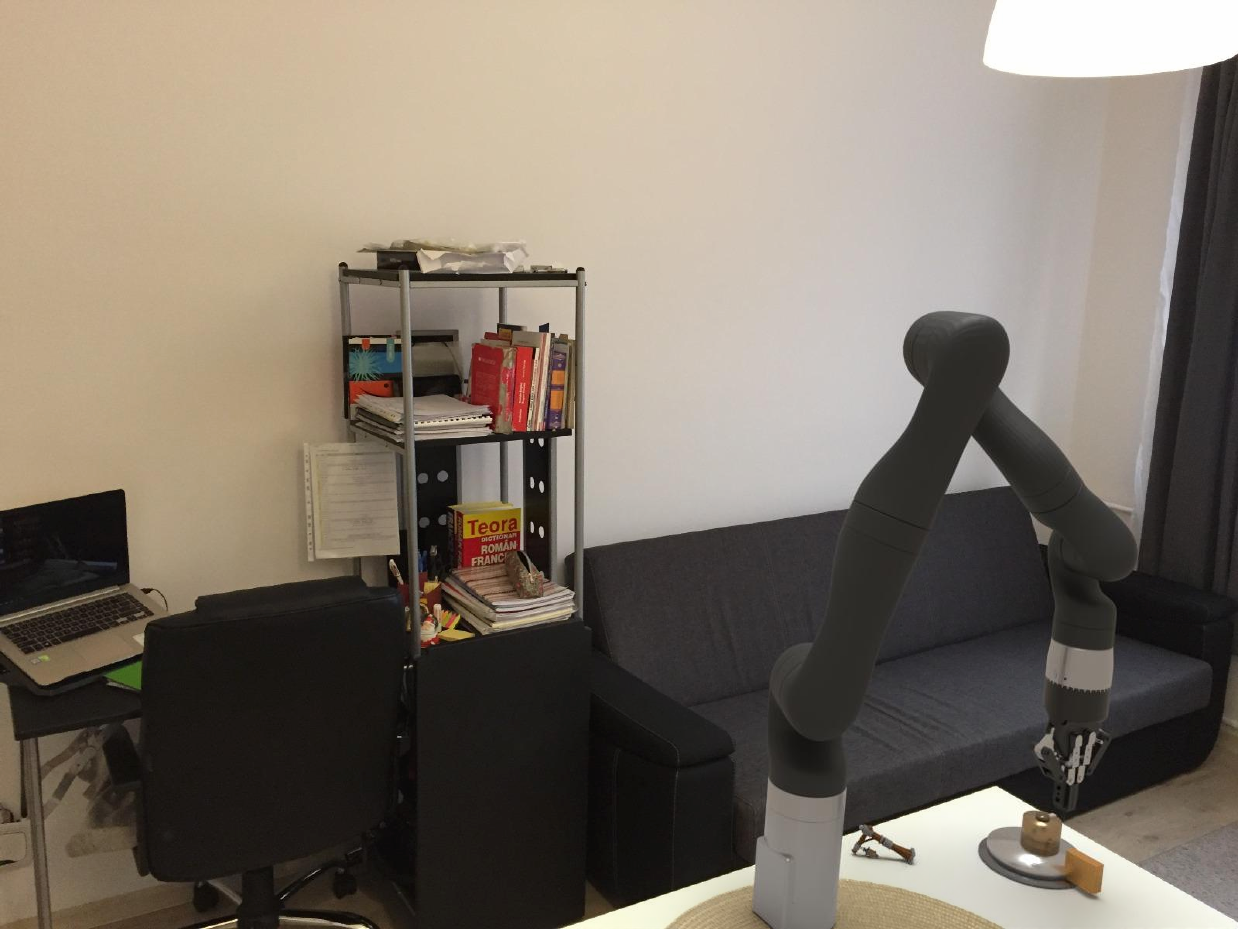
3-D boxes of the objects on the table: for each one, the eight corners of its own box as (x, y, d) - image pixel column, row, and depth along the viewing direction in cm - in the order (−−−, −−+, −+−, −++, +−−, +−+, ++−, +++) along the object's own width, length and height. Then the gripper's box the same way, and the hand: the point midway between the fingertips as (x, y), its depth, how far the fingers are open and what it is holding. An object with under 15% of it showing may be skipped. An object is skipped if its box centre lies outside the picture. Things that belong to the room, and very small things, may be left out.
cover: (1041, 859, 139) (1045, 826, 138) (1012, 841, 143) (1015, 810, 143) (1067, 851, 141) (1071, 820, 141) (1037, 834, 146) (1040, 803, 145)
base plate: (1039, 899, 133) (1039, 896, 133) (956, 847, 145) (956, 845, 145) (1111, 875, 139) (1111, 872, 139) (1025, 828, 151) (1026, 825, 151)
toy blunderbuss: (845, 844, 143) (861, 818, 142) (898, 873, 142) (914, 847, 141) (846, 851, 141) (862, 824, 140) (899, 880, 140) (916, 853, 139)
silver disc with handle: (967, 844, 144) (970, 819, 144) (1027, 828, 150) (1029, 803, 149) (1065, 904, 130) (1068, 876, 130) (1127, 883, 136) (1130, 856, 136)
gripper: (1068, 694, 123) (1053, 832, 125) (1139, 679, 129) (1124, 811, 131) (1016, 674, 129) (1003, 805, 132) (1087, 661, 135) (1073, 786, 138)
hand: (1064, 808), depth 131 cm, fingers closed
